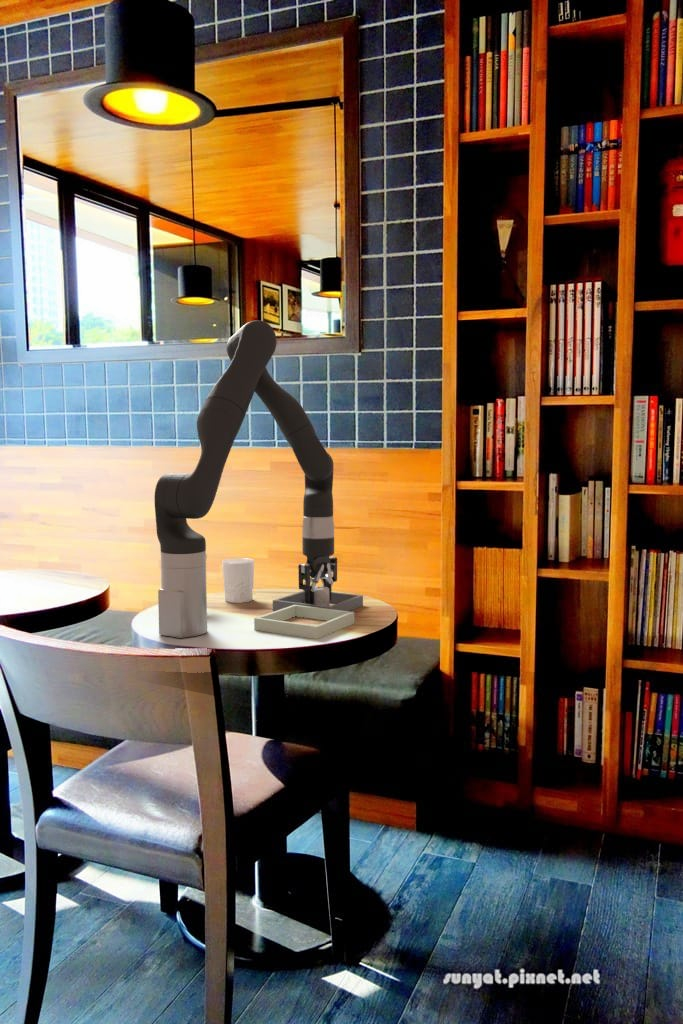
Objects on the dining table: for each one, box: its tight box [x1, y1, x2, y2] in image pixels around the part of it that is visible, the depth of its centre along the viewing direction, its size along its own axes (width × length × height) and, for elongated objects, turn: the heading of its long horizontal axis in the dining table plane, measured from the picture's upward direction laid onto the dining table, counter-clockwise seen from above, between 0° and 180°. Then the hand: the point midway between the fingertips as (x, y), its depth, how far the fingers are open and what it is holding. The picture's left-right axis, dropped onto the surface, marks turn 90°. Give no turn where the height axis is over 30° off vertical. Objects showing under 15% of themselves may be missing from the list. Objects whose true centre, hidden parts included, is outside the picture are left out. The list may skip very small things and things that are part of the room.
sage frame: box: [253, 605, 355, 640], centre depth 177 cm, size 16×16×2 cm
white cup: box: [221, 557, 255, 604], centre depth 204 cm, size 8×8×10 cm
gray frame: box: [272, 590, 364, 612], centre depth 195 cm, size 16×16×2 cm
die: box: [314, 585, 330, 606], centre depth 195 cm, size 5×5×5 cm
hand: (318, 603), depth 195 cm, fingers open, 7 cm apart
